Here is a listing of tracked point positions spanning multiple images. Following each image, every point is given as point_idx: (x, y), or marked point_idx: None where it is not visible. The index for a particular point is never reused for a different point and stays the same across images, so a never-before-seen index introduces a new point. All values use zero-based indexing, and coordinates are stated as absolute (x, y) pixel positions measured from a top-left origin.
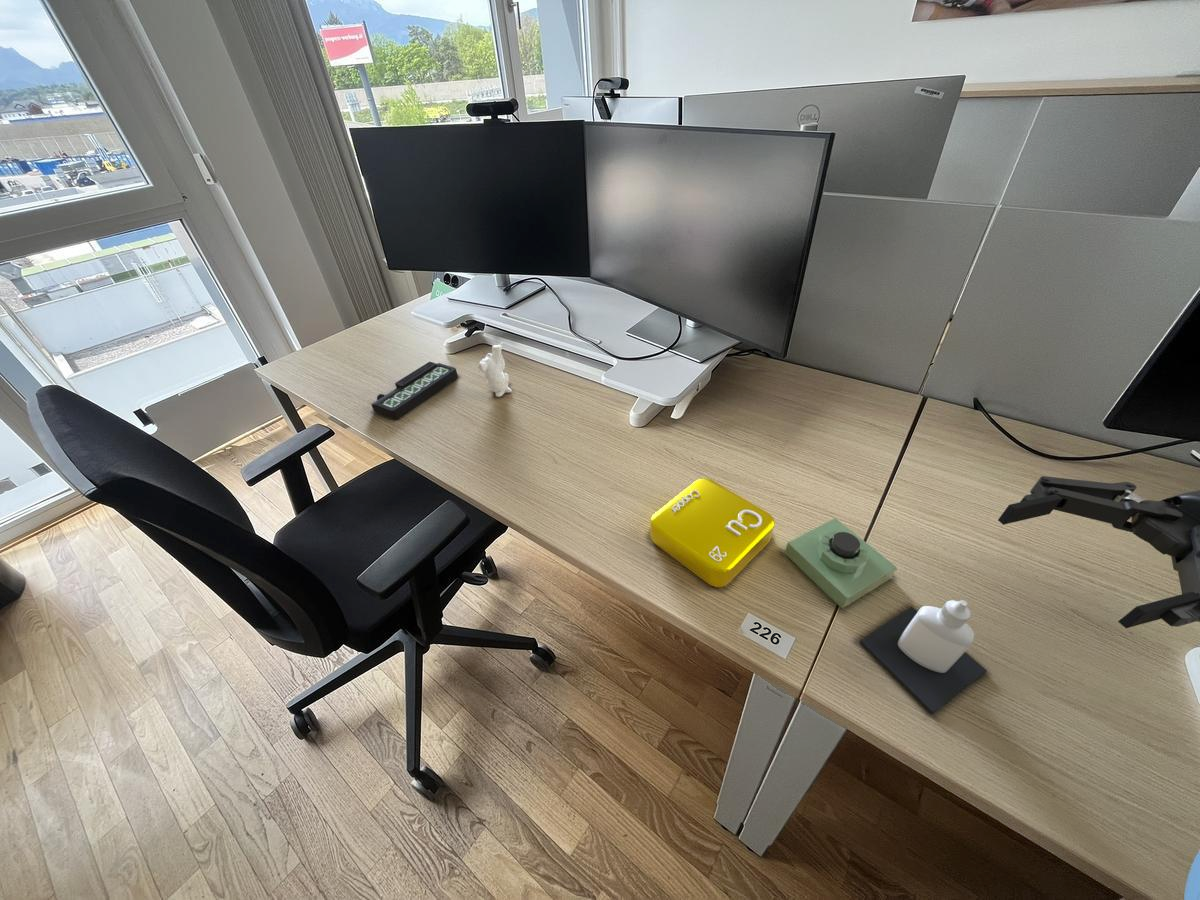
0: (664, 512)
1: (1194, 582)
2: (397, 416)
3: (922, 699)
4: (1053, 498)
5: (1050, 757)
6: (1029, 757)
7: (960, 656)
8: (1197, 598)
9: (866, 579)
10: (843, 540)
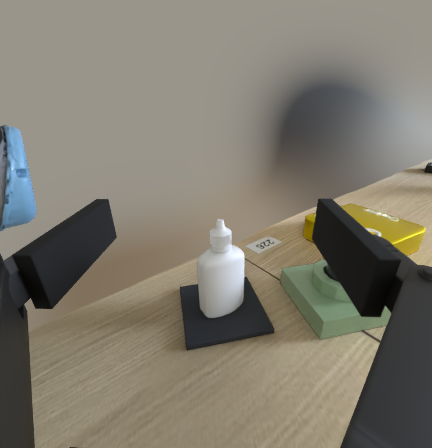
0: (362, 207)
1: (9, 325)
2: (426, 170)
3: (190, 286)
4: (372, 245)
5: (106, 342)
6: (119, 327)
7: (198, 282)
8: (22, 249)
9: (303, 287)
10: None
